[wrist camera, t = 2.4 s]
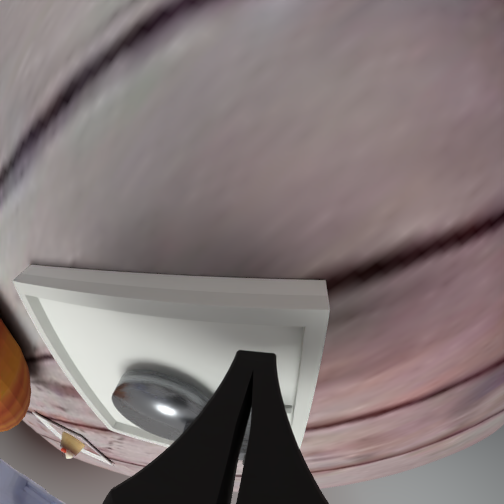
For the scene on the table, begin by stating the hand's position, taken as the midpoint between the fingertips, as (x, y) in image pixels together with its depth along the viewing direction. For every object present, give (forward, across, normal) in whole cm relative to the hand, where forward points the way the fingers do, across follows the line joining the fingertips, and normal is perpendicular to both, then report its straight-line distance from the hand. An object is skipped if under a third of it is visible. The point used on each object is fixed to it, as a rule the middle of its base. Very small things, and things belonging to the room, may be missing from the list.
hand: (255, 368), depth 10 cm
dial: (+1, +3, +6) cm, 7 cm away
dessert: (+3, +30, +35) cm, 46 cm away
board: (+3, +5, +6) cm, 8 cm away
